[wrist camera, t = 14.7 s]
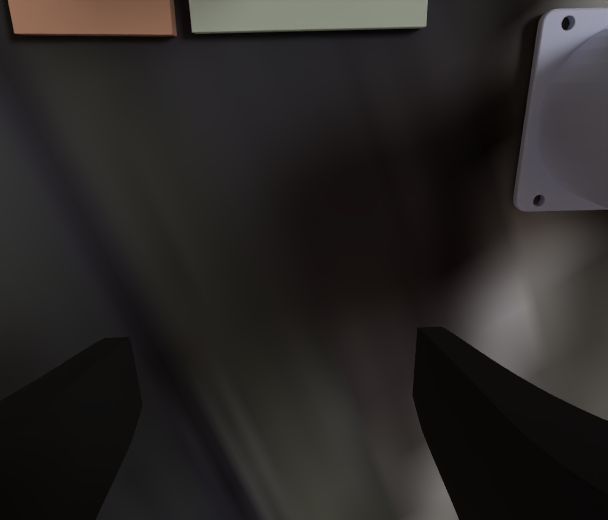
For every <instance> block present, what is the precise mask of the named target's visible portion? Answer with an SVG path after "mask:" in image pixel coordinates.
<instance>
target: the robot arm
mask: <svg viewBox="0 0 608 520" xmlns="http://www.w3.org/2000/svg"><path fill="white" fill-rule="evenodd" d="M565 17H567V18H568V19H569V27H568V28H567V29H566V30H563V28H562V25H561V23H562V20H563V19H564V18H565ZM537 195H540V197H541V199H540V201H539V202H538V203H537V204H533V200H534V198H535V197H536V196H537ZM513 204H514V206H515V207H516V208H517V209H519V210H520V211H524V212H534V211H571V210H608V8H571V9H554V10H550V11H547V12H546V13H545V14H543V15H542V17H541V18H540V20H539V23H538V28H537V35H536V42H535V49H534V56H533V63H532V70H531V77H530V84H529V91H528V98H527V105H526V112H525V119H524V126H523V133H522V140H521V147H520V154H519V161H518V167H517V174H516V181H515V188H514V195H513ZM413 399H414V403H415V407H416V411H417V415H418V418H419V422H420V425H421V429H422V432H423V434H424V437H425V439H426V442H427V444H428V446H429V449H430V451H431V454H432V456H433V459H434V461H435V463H436V466H437V468H438V470H439V473H440V475H441V477H442V480H443V482H444V485H445V487H446V489H447V492H448V494H449V496H450V499H451V501H452V503H453V506H454V508H455V511H456V513H457V515H458V518H459V520H608V421H607V420H604V419H602V418H600V417H597V416H595V415H593V414H590V413H588V412H586V411H584V410H582V409H580V408H578V407H576V406H573V405H571V404H569V403H567V402H565V401H563V400H561V399H559V398H557V397H555V396H553V395H551V394H549V393H547V392H545V391H544V390H542V389H540V388H538V387H536V386H535V385H533V384H531V383H529V382H528V381H526V380H524V379H523V378H521V377H519V376H517V375H516V374H514V373H512V372H511V371H509V370H508V369H506V368H504V367H503V366H501V365H500V364H498V363H496V362H495V361H493V360H492V359H490V358H489V357H487V356H486V355H484V354H483V353H481V352H480V351H478V350H477V349H475V348H474V347H472V346H471V345H469V344H468V343H466V342H465V341H463V340H462V339H461V338H459V337H458V336H456V335H455V334H453V333H451V332H450V331H448V330H447V329H445V328H443V327H421V328H417V341H416V355H415V369H414V382H413ZM141 408H142V401H141V395H140V390H139V384H138V379H137V373H136V368H135V362H134V357H133V351H132V346H131V340H130V337H124V338H105V339H103V340H101V341H99V342H97V343H95V344H93V345H92V346H90V347H88V348H87V349H85V350H83V351H82V352H80V353H78V354H77V355H75V356H74V357H72V358H71V359H69V360H67V361H66V362H64V363H63V364H61V365H59V366H58V367H56V368H55V369H53V370H51V371H50V372H48V373H47V374H45V375H43V376H42V377H40V378H39V379H37V380H35V381H34V382H32V383H30V384H29V385H27V386H25V387H23V388H22V389H20V390H18V391H17V392H15V393H13V394H11V395H10V396H8V397H6V398H5V399H3V400H1V401H0V520H95V519H96V517H97V515H98V513H99V511H100V509H101V506H102V504H103V502H104V500H105V498H106V496H107V494H108V491H109V489H110V487H111V485H112V483H113V481H114V479H115V476H116V474H117V472H118V470H119V468H120V466H121V463H122V461H123V459H124V457H125V455H126V452H127V450H128V448H129V446H130V443H131V441H132V438H133V435H134V432H135V429H136V425H137V422H138V418H139V415H140V411H141Z"/></svg>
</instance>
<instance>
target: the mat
mask: <svg viewBox="0 0 608 520" xmlns="http://www.w3.org/2000/svg"><path fill="white" fill-rule="evenodd" d="M427 4H428V0H189V6H190V16H191V26H192V32H193V33H195V34H209V33H250V32H290V31H331V30H372V29H412V28H424V27H426V19H427Z"/></svg>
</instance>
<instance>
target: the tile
mask: <svg viewBox="0 0 608 520" xmlns="http://www.w3.org/2000/svg"><path fill="white" fill-rule="evenodd" d="M8 3H9V8H10V13H11V18H12V23H13V28H14V33H15V34H20V35H46V36H177V33H176V21H175V9H174V0H8Z"/></svg>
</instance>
